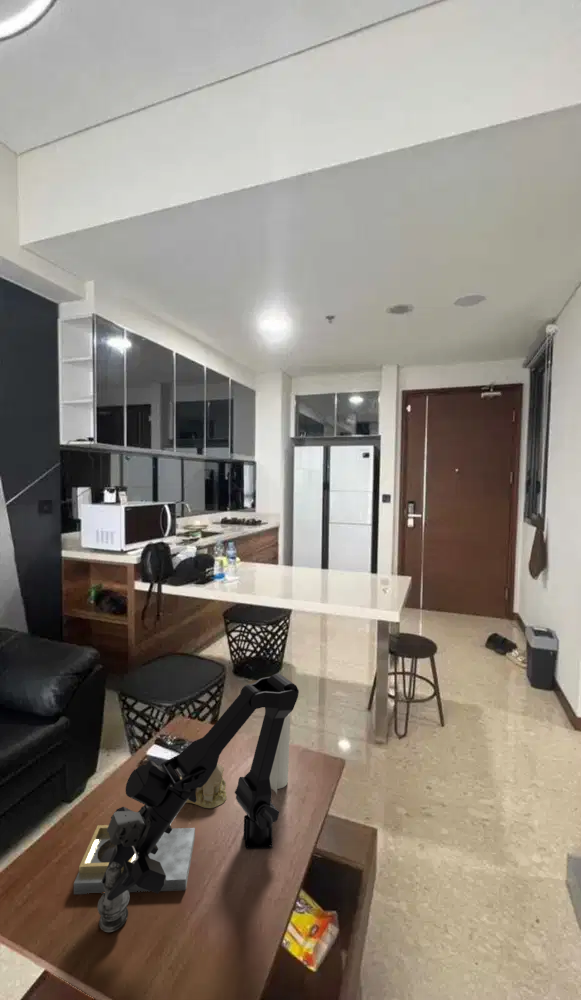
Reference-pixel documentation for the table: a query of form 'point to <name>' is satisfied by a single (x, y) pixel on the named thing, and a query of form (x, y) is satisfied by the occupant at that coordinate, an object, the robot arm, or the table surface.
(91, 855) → the grey slab
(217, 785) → the ceramic model
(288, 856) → the table surface
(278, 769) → the paper towel roll
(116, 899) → the grey tiered ornament
